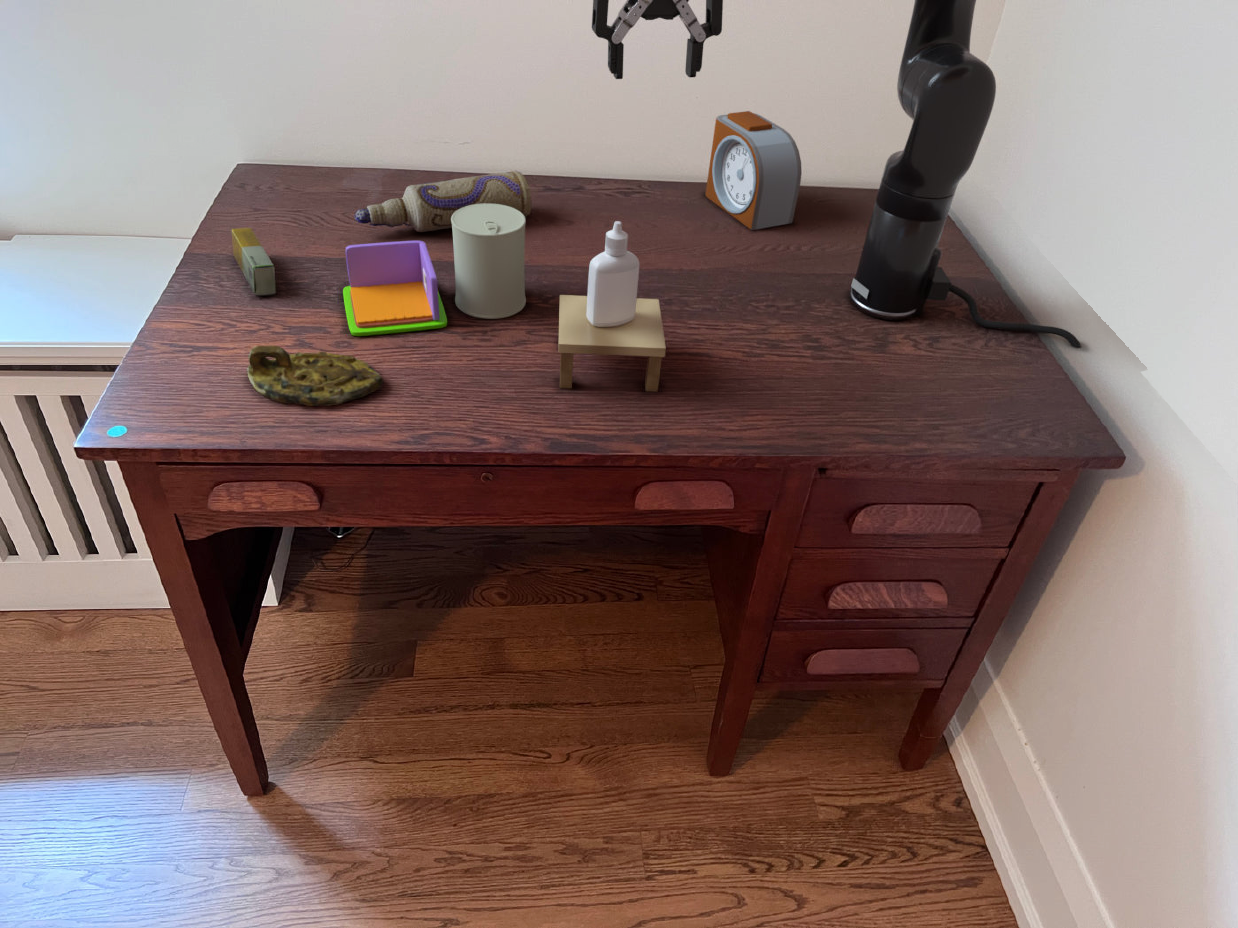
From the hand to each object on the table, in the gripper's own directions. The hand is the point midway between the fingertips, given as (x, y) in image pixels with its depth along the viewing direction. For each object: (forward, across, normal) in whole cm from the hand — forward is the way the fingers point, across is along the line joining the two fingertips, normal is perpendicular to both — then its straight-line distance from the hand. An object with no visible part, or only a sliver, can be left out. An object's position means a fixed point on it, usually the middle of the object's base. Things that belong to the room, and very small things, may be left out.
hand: (654, 76), depth 101 cm
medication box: (+27, -50, +11) cm, 58 cm away
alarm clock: (+29, +24, +29) cm, 47 cm away
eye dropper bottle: (+23, -8, -14) cm, 28 cm away
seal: (+28, -41, -15) cm, 52 cm away
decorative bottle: (+27, -24, +26) cm, 45 cm away
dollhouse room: (+28, -32, +1) cm, 43 cm away
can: (+28, -20, +2) cm, 35 cm away
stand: (+29, -8, -14) cm, 33 cm away
